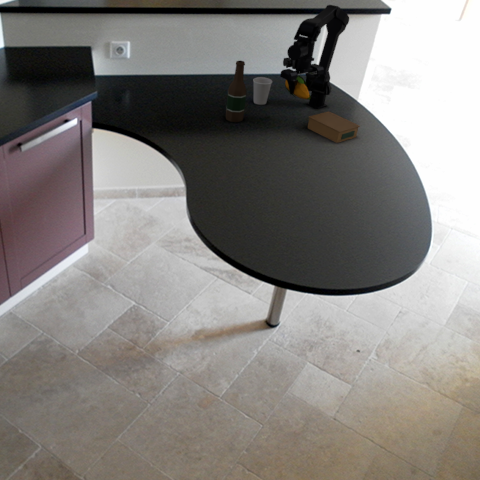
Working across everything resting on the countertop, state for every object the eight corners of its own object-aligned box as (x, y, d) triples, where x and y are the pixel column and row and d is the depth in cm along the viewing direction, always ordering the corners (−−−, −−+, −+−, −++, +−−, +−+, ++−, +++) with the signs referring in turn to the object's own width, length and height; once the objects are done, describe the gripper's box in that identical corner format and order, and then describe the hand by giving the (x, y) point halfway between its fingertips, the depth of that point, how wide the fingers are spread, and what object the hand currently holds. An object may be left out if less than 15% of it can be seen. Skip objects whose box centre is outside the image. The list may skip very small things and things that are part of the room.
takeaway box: (306, 128, 241) (308, 116, 238) (326, 122, 246) (328, 111, 243) (336, 143, 229) (339, 131, 227) (357, 137, 235) (360, 125, 232)
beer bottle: (245, 117, 248) (253, 60, 234) (240, 124, 242) (247, 65, 228) (228, 113, 250) (234, 57, 237) (222, 120, 244) (228, 62, 231)
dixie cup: (272, 101, 264) (275, 79, 258) (264, 107, 258) (267, 85, 252) (255, 97, 267) (258, 75, 261) (247, 102, 261) (250, 80, 256)
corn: (299, 69, 247) (319, 86, 231) (297, 86, 251) (316, 104, 235) (282, 71, 246) (301, 88, 230) (280, 88, 250) (299, 106, 234)
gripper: (308, 45, 243) (301, 82, 252) (273, 51, 234) (268, 90, 243) (327, 53, 235) (320, 91, 244) (293, 60, 227) (286, 98, 235)
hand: (298, 92), depth 242 cm, fingers closed on corn, 8 cm apart
